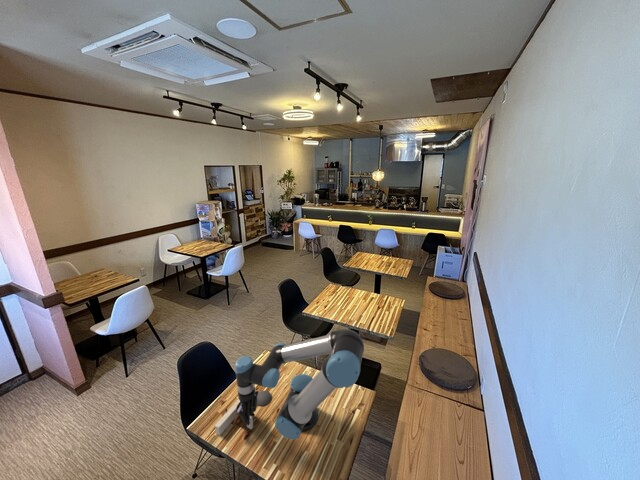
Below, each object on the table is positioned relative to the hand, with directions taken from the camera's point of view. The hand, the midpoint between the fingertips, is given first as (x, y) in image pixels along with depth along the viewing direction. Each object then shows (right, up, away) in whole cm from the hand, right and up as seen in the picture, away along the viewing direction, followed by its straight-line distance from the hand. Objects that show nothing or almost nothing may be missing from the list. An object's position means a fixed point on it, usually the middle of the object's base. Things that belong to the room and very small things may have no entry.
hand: (250, 426), depth 124 cm
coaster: (+3, +4, +16) cm, 17 cm away
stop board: (-10, +1, +7) cm, 12 cm away
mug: (-4, -1, +3) cm, 5 cm away
